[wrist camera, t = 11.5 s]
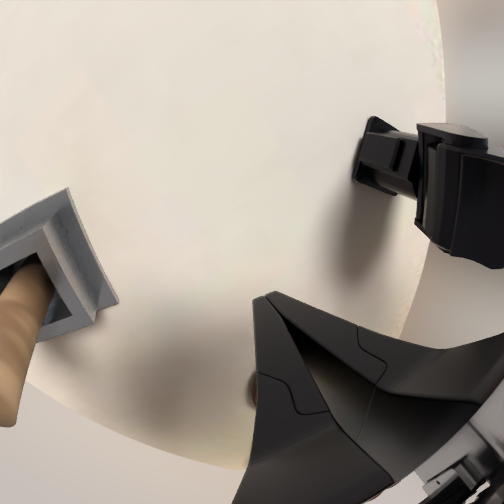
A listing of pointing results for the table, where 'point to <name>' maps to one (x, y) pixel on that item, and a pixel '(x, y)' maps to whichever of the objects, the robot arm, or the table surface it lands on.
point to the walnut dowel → (21, 330)
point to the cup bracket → (57, 262)
